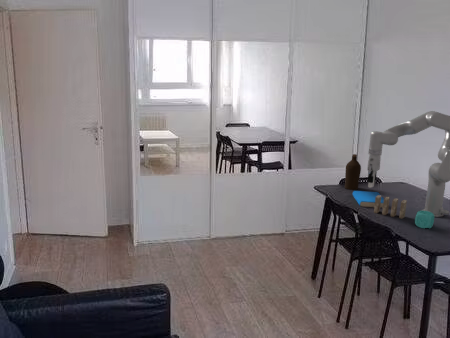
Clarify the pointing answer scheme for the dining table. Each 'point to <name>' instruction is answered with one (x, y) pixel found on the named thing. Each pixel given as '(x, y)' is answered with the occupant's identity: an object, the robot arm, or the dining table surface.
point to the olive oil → (352, 173)
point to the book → (367, 198)
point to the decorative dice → (424, 219)
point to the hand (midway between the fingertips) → (371, 181)
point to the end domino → (373, 181)
